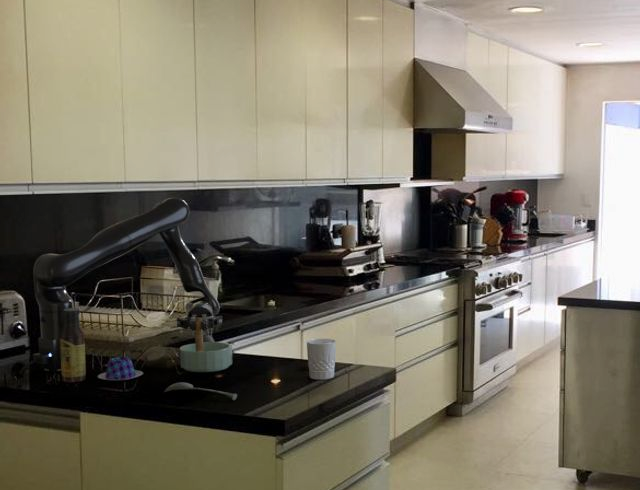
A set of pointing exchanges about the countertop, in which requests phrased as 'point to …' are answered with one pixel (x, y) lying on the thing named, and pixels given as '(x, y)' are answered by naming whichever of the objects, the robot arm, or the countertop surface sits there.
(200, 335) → the stirrer
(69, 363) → the sauce bottle
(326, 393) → the countertop surface
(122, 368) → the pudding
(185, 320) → the robot arm
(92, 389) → the countertop surface
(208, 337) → the kitchen whisk
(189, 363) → the bowl
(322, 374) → the white cup
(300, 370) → the countertop surface
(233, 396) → the soupspoon
